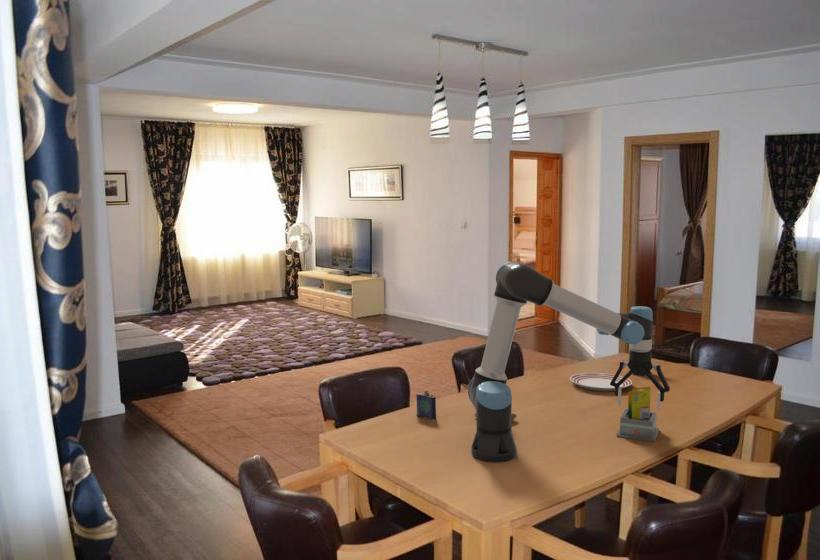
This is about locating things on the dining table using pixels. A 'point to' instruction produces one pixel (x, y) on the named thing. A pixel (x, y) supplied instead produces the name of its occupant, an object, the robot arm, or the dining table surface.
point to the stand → (638, 427)
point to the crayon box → (639, 403)
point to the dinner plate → (598, 381)
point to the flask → (426, 405)
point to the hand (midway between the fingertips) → (638, 407)
